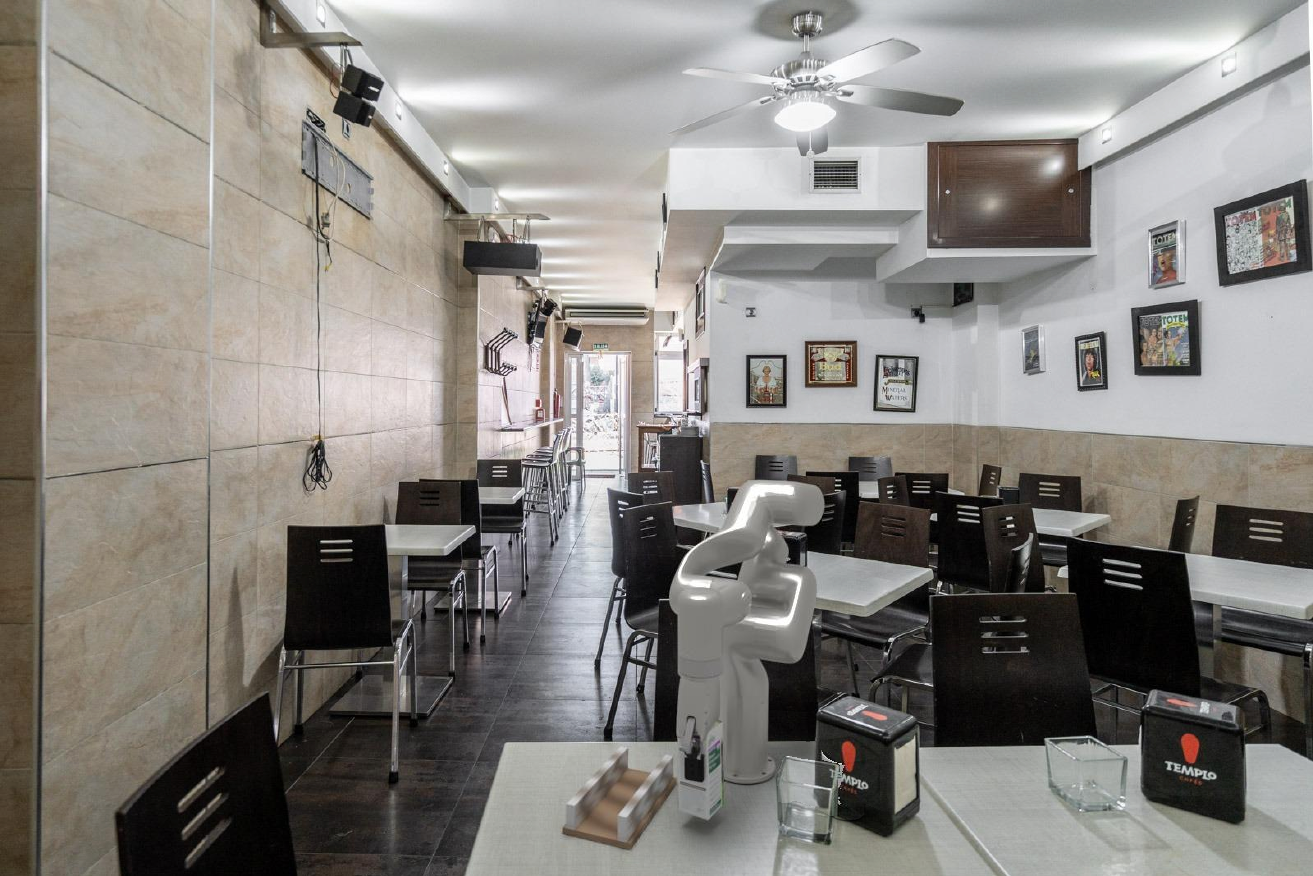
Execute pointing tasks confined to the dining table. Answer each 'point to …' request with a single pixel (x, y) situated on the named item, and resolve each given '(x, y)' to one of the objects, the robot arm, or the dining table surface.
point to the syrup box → (710, 792)
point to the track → (618, 801)
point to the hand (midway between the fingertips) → (700, 768)
